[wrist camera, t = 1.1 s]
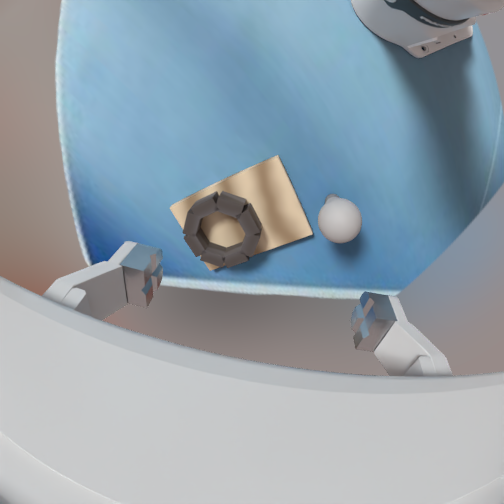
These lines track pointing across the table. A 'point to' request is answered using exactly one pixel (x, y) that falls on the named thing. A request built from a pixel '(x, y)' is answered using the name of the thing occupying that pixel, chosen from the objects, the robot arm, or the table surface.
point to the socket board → (264, 202)
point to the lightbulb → (339, 219)
